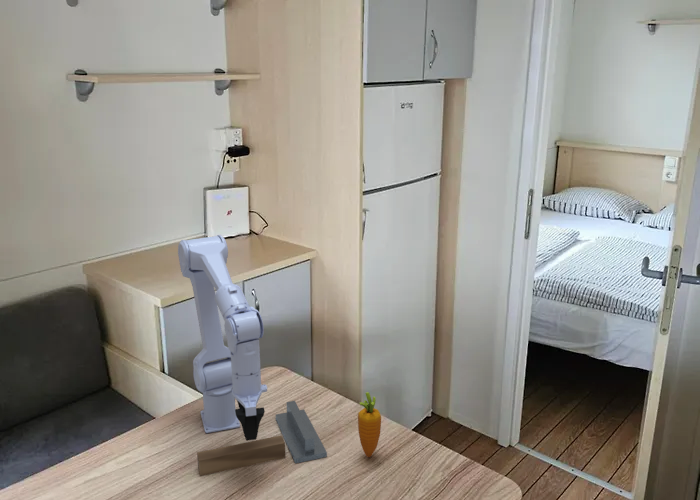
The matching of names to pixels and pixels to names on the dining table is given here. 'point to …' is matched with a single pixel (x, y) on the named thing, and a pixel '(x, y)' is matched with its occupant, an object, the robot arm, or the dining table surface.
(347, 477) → the dining table surface
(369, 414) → the carrot
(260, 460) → the walnut rod
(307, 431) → the stand
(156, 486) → the dining table surface
